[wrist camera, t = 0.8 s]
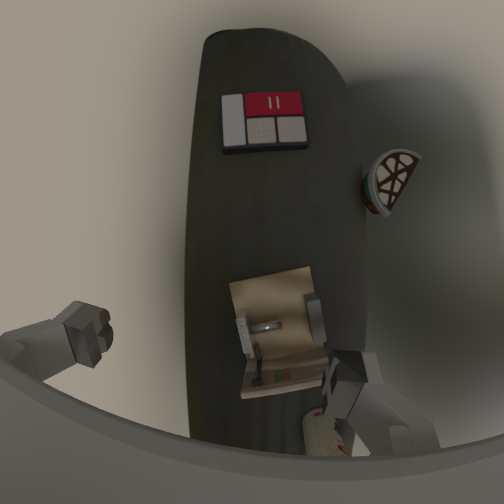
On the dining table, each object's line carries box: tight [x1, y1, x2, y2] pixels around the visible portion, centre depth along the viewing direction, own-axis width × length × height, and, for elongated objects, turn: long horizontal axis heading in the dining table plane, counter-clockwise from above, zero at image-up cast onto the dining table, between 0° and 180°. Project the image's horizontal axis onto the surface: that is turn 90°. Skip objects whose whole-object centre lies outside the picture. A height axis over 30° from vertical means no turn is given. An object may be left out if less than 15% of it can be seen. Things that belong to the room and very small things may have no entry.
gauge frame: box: [229, 266, 329, 399], centre depth 45 cm, size 16×14×14 cm
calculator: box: [219, 91, 309, 155], centre depth 49 cm, size 11×4×15 cm
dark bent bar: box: [251, 344, 263, 385], centre depth 45 cm, size 3×2×10 cm, turn 12°
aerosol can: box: [302, 407, 348, 457], centre depth 42 cm, size 7×7×20 cm
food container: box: [361, 149, 422, 217], centre depth 45 cm, size 12×6×10 cm, turn 145°
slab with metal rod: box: [236, 310, 283, 358], centre depth 48 cm, size 8×7×5 cm
